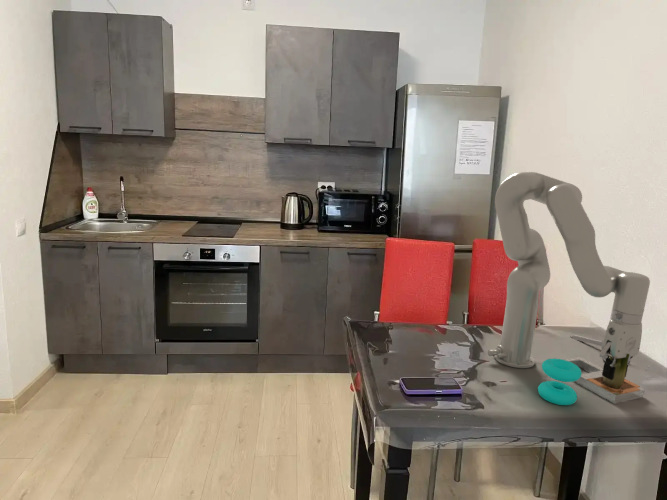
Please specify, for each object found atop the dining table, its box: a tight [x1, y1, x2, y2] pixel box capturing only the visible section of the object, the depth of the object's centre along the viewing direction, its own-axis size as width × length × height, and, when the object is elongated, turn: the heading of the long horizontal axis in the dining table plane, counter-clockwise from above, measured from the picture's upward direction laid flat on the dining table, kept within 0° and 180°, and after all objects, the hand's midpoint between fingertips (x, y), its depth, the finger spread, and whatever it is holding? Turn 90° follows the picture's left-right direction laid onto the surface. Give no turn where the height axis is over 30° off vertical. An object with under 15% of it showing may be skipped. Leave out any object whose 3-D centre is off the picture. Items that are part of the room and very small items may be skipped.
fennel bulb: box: [603, 354, 629, 389], centre depth 144 cm, size 6×5×12 cm
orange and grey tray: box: [563, 356, 646, 405], centre depth 150 cm, size 12×22×3 cm, turn 24°
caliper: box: [569, 334, 603, 347], centre depth 177 cm, size 20×1×6 cm, turn 23°
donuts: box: [537, 357, 583, 406], centre depth 138 cm, size 10×10×10 cm
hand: (613, 375), depth 145 cm, fingers closed on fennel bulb, 4 cm apart
